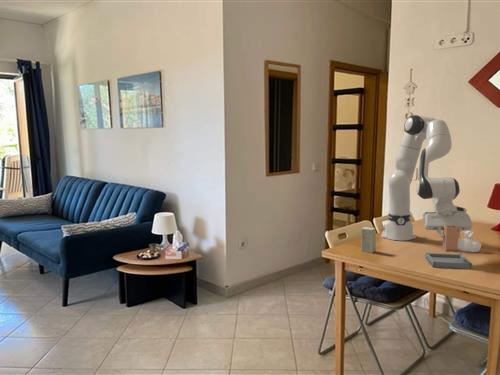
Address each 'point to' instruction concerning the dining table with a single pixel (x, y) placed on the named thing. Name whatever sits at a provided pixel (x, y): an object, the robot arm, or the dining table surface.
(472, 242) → the bust
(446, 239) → the cup
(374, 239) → the skincare box
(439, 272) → the dining table surface
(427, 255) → the tray
